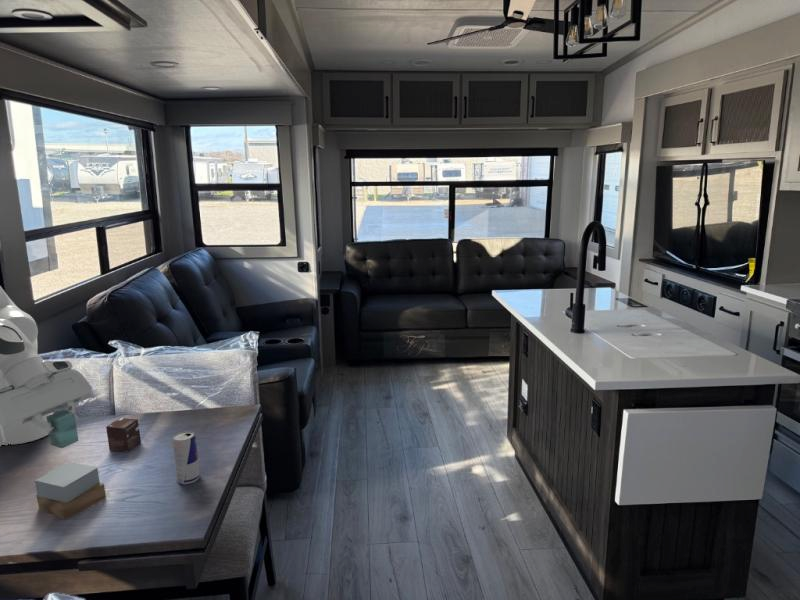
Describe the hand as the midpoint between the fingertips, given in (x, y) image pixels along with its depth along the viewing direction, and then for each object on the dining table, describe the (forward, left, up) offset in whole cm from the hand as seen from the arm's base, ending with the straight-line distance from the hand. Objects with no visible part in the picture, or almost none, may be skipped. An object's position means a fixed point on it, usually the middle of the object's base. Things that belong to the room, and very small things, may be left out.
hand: (63, 425), depth 130 cm
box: (-13, +23, -20) cm, 33 cm away
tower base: (0, -1, -20) cm, 20 cm away
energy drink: (+17, +18, -20) cm, 32 cm away
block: (-1, 0, -4) cm, 4 cm away
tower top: (0, -1, -16) cm, 16 cm away
